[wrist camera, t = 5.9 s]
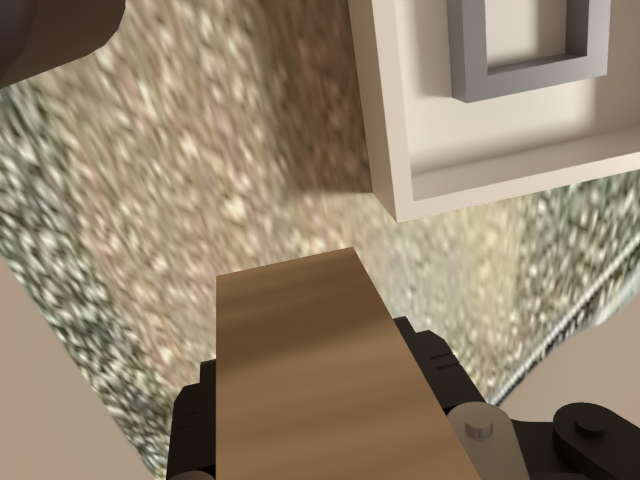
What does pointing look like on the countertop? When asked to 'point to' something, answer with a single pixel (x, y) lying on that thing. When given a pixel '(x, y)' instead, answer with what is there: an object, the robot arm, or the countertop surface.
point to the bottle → (52, 33)
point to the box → (494, 97)
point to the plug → (322, 381)
